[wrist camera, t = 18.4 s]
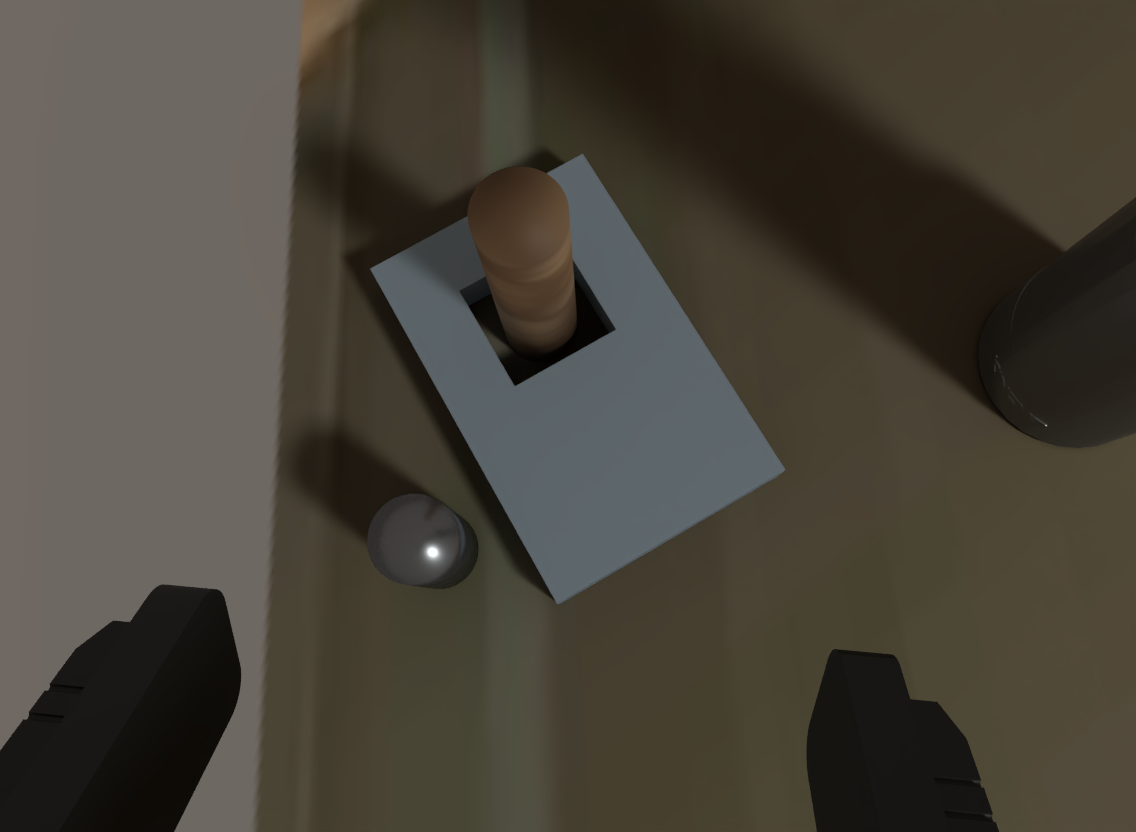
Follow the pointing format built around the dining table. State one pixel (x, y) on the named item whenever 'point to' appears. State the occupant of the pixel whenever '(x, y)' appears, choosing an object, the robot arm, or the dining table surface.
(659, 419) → the hole board
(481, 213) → the long pin
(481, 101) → the dining table surface
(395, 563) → the short pin
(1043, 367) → the robot arm
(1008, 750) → the dining table surface
